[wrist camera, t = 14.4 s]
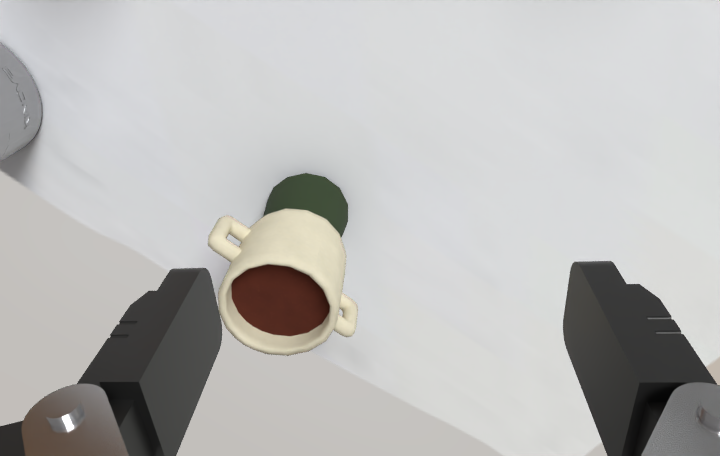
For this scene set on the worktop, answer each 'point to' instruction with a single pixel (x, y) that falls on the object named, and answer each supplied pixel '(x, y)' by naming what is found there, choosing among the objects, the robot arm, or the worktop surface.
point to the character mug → (287, 269)
